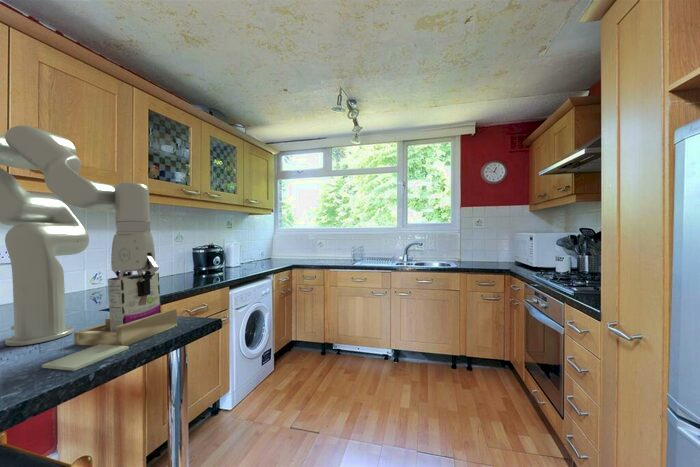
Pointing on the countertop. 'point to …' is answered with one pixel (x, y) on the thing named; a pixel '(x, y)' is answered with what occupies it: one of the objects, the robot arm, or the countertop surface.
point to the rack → (128, 330)
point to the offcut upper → (107, 322)
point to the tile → (85, 357)
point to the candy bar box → (131, 300)
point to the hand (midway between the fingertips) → (135, 294)
